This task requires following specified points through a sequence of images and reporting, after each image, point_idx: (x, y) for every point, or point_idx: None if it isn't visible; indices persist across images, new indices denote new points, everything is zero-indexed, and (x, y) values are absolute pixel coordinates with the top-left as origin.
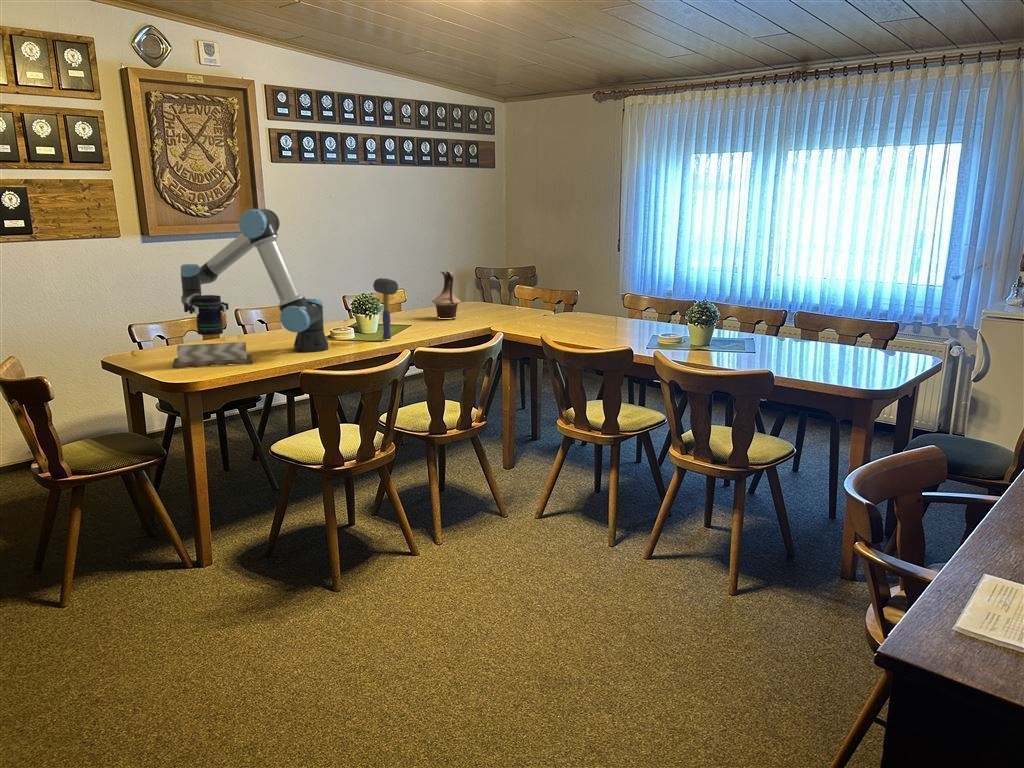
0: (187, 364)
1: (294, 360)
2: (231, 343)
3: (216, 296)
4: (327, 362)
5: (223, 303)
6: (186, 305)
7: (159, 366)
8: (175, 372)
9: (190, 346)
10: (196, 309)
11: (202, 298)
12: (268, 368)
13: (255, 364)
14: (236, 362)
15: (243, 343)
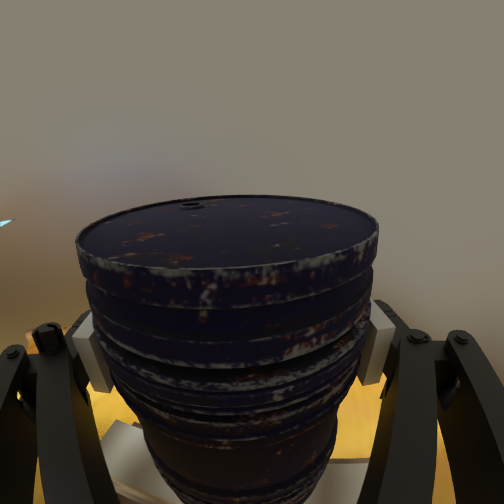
0: (348, 459)
1: None
2: (147, 473)
3: (126, 224)
4: (29, 349)
5: (52, 334)
6: (465, 358)
7: (438, 498)
8: (375, 417)
9: (349, 483)
10: None
11: (292, 200)
12: None
13: (133, 421)
14: None
15: (108, 443)
